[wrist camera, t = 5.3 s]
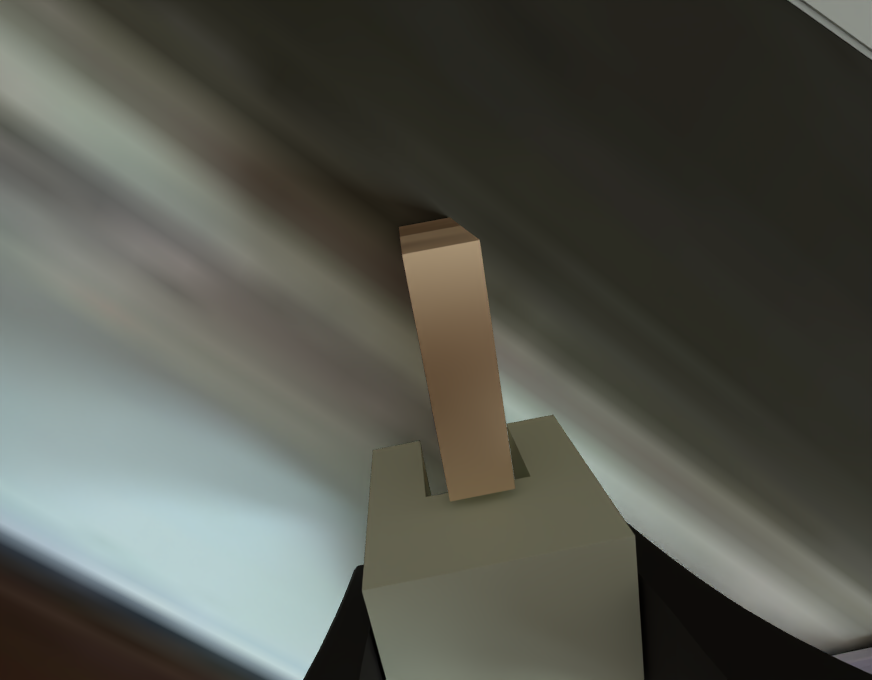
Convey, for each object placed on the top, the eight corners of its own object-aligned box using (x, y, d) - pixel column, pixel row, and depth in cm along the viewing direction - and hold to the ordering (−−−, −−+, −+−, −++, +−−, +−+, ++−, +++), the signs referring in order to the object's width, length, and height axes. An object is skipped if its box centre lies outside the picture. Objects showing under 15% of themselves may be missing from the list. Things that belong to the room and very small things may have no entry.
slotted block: (567, 548, 15) (646, 713, 11) (404, 581, 15) (409, 763, 10) (553, 414, 14) (635, 535, 9) (372, 449, 14) (361, 590, 9)
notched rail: (519, 654, 19) (562, 816, 14) (482, 662, 19) (512, 826, 14) (449, 217, 14) (479, 240, 9) (398, 226, 14) (402, 254, 9)
